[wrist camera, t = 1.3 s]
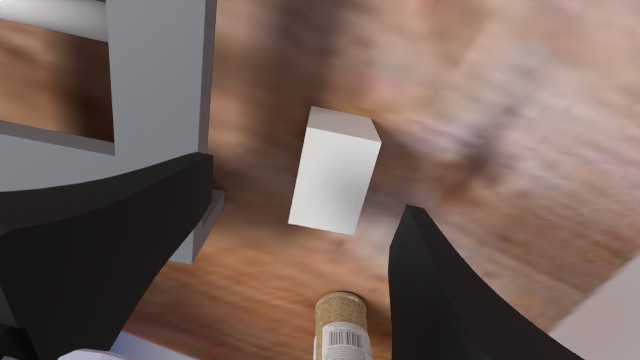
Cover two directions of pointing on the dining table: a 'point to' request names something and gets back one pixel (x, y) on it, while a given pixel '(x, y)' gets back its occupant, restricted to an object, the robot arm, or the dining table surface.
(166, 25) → the shelf
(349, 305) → the spice jar
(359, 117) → the white rectangular prism
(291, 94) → the dining table surface
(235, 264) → the dining table surface
